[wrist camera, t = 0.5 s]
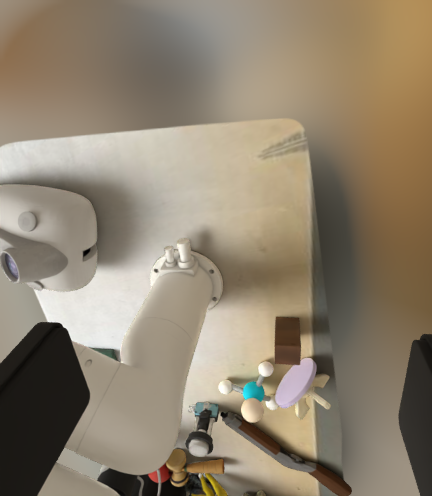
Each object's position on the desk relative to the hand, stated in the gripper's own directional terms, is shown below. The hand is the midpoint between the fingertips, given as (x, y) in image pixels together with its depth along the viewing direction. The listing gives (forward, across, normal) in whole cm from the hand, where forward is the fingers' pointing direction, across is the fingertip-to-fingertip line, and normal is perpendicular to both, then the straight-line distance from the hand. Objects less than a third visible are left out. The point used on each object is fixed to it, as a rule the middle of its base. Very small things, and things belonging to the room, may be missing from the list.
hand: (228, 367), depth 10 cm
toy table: (+40, -6, +48) cm, 63 cm away
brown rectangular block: (+44, -2, +35) cm, 56 cm away
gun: (+42, -4, +67) cm, 79 cm away
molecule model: (+44, +4, +49) cm, 66 cm away
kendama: (+44, +22, +76) cm, 91 cm away
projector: (+44, +39, +14) cm, 61 cm away
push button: (+44, +16, +57) cm, 74 cm away
